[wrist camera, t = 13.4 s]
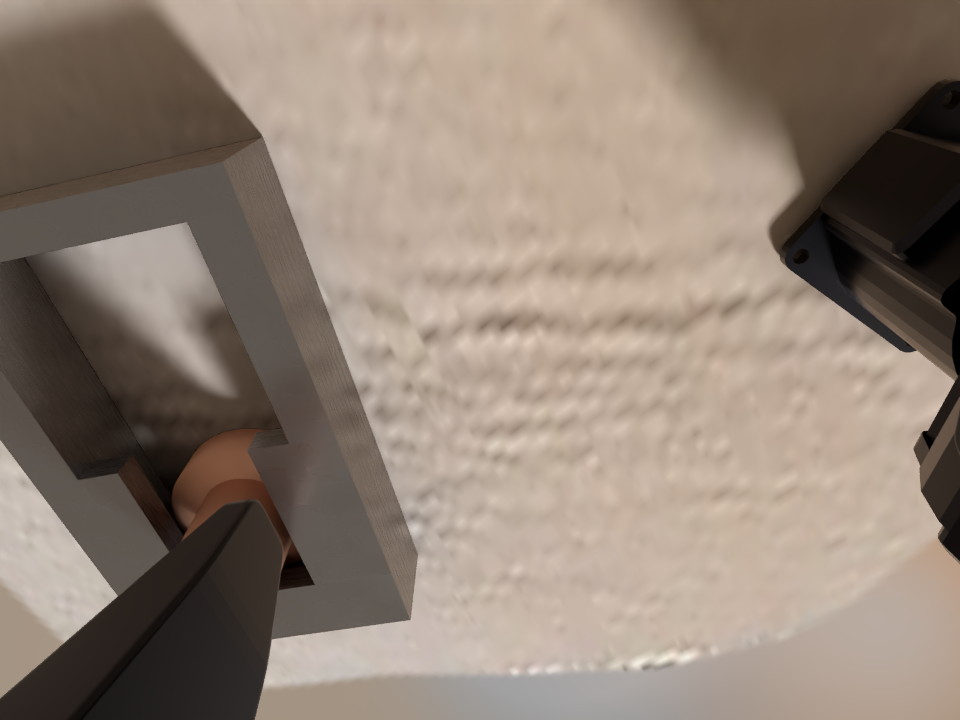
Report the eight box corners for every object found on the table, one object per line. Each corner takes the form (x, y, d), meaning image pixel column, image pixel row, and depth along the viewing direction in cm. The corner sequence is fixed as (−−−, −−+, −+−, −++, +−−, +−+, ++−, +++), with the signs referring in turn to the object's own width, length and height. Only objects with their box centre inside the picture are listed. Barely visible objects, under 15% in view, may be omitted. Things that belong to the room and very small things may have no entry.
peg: (325, 427, 24) (186, 811, 12) (345, 539, 27) (247, 929, 16) (170, 429, 24) (-108, 813, 13) (207, 541, 27) (10, 931, 16)
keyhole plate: (-55, 209, 19) (-147, 244, 17) (262, 136, 18) (222, 161, 15) (193, 588, 28) (162, 654, 25) (417, 554, 27) (410, 619, 24)
